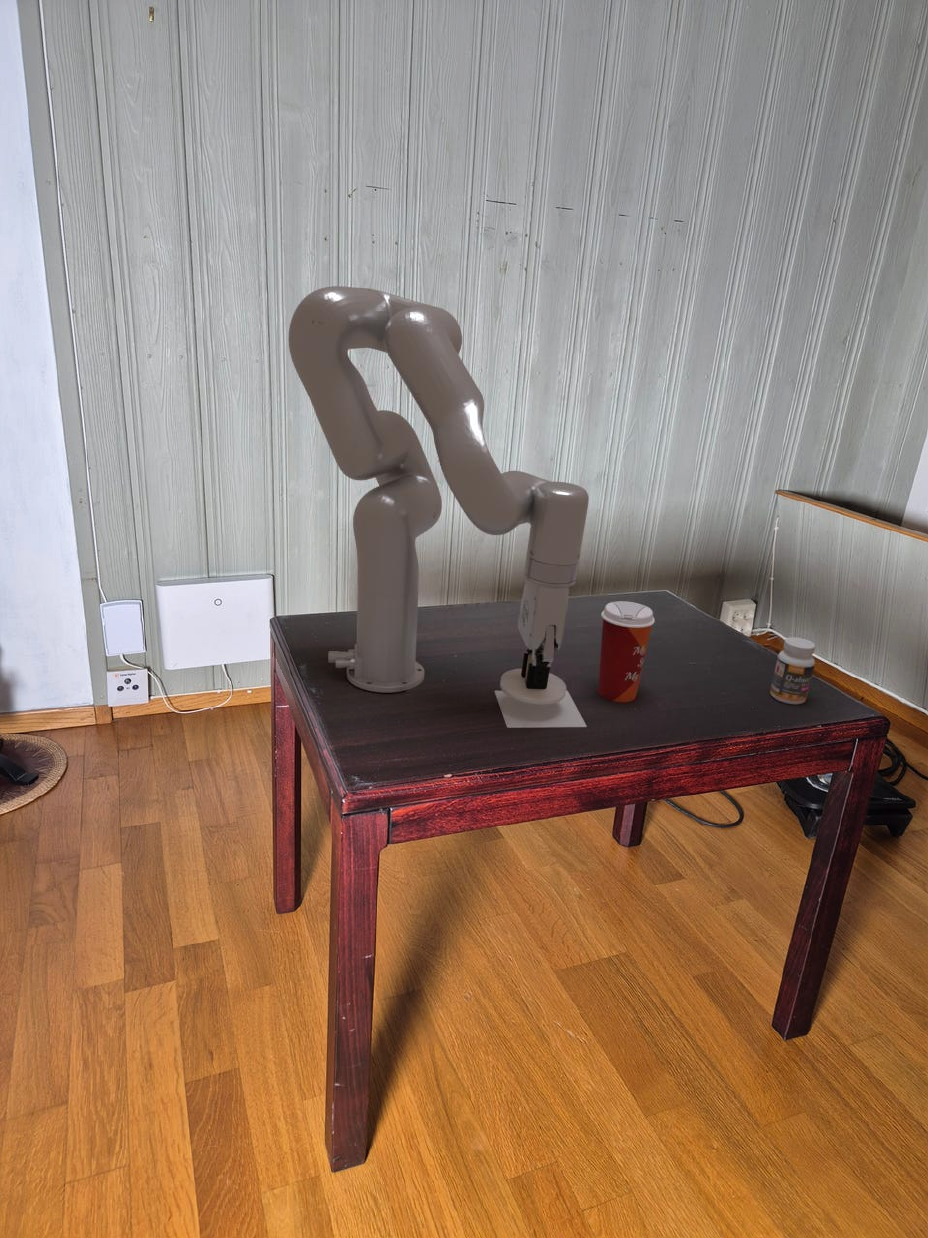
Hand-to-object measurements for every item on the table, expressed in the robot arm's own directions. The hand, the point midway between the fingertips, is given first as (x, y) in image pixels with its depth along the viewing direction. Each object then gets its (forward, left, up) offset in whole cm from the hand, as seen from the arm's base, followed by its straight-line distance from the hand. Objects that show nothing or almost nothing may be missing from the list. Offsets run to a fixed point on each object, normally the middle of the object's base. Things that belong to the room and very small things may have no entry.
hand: (533, 681), depth 128 cm
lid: (0, 0, -1) cm, 1 cm away
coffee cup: (+15, +4, -5) cm, 16 cm away
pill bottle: (+44, +3, -5) cm, 45 cm away
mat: (+1, -1, -5) cm, 5 cm away
